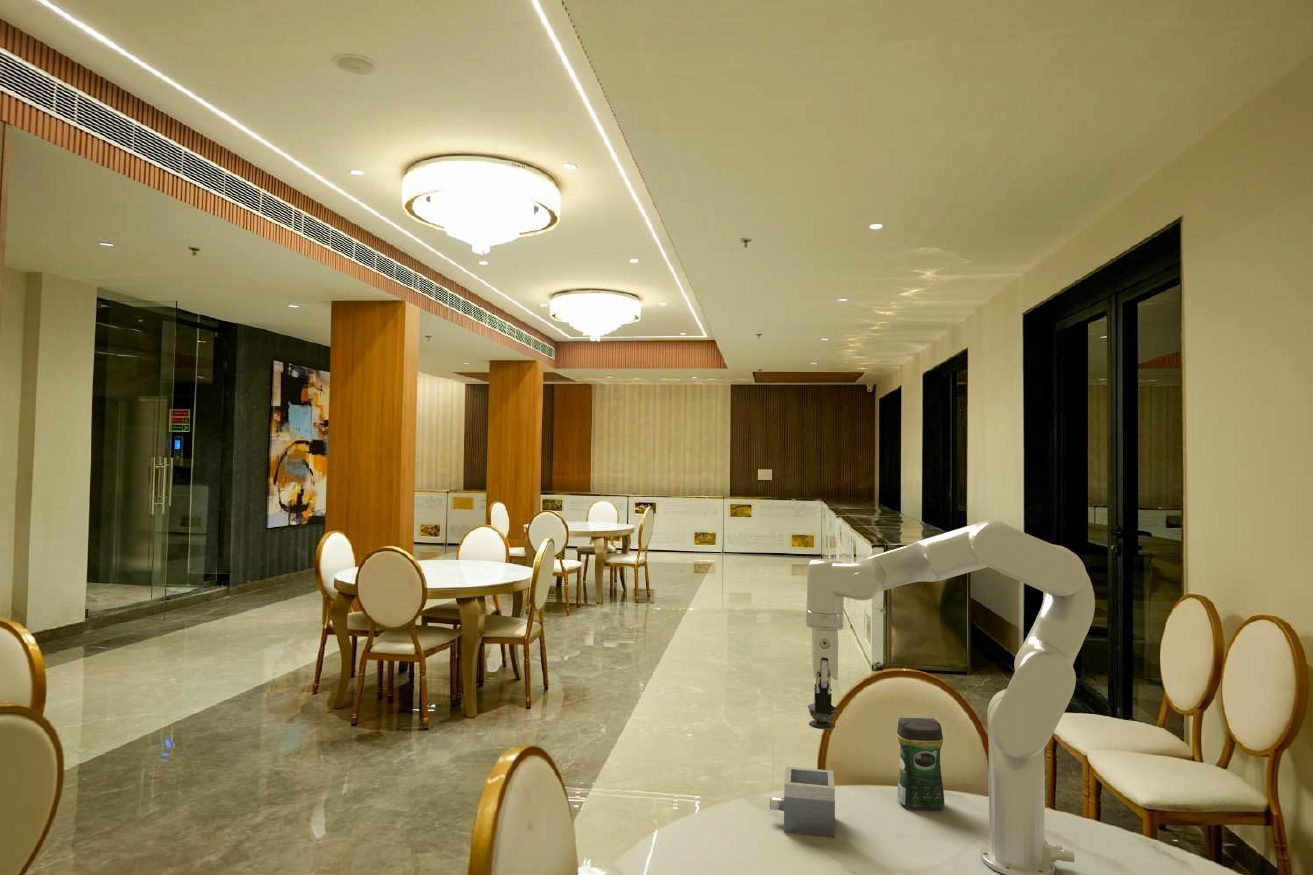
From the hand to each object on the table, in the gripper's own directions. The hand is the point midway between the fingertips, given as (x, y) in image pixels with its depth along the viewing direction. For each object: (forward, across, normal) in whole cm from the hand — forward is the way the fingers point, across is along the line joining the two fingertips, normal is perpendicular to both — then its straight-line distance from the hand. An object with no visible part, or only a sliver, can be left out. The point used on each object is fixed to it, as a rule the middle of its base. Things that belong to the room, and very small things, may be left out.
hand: (822, 707), depth 159 cm
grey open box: (+24, +2, +4) cm, 25 cm away
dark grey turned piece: (+4, 0, 0) cm, 4 cm away
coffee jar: (+24, +17, -22) cm, 37 cm away
